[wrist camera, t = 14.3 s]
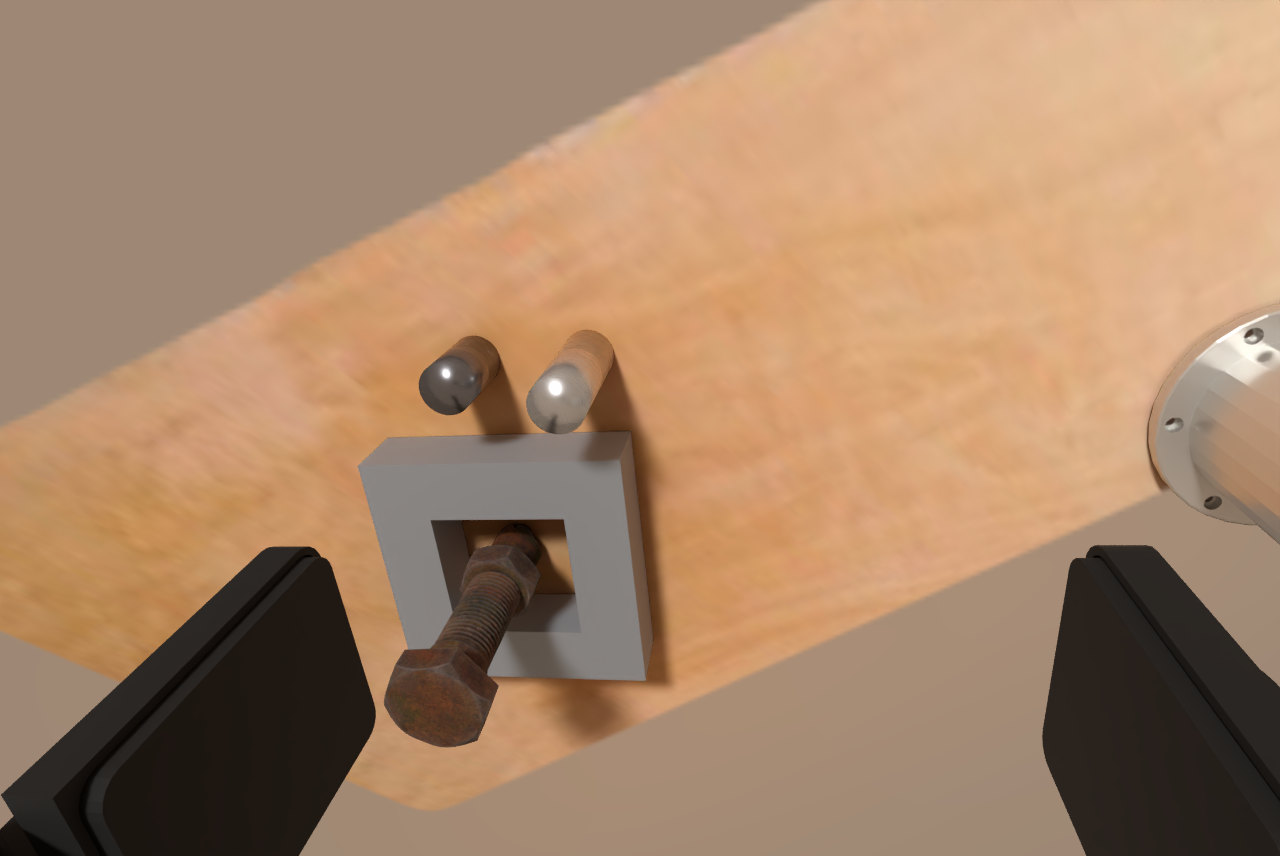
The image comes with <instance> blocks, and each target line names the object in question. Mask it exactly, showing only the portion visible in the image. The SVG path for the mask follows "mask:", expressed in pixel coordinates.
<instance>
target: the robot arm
mask: <svg viewBox="0 0 1280 856" xmlns="http://www.w3.org/2000/svg"><path fill="white" fill-rule="evenodd" d="M1246 332H1247V333H1246ZM1245 333H1246V334H1245ZM1148 444H1149V448H1150V453H1151V457H1152V462H1153V464H1154V466H1155V468H1156V469H1157V471H1158V473H1159V475H1160V477H1161V479H1162V480H1163V481H1164V482H1165V483H1166V484H1167V485H1168V487H1169V488H1170V489H1171V490H1172V491H1173V492H1174V493H1175V494H1176V495H1177V496H1178V497H1180V498H1181V499H1182V500H1183V501H1184V502H1185V503H1186V504H1188V505H1189V506H1191V507H1192V508H1194V509H1196V510H1197V511H1199V512H1201V513H1203V514H1205V515H1207V516H1211V517H1213V518H1216V519H1220V520H1223V521H1226V522H1231V523H1239V524H1245V525H1258V526H1259V527H1260V528H1262V529H1263V530H1264V531H1265V532H1266V533H1267V534H1268V535H1269V536H1271V537H1272V538H1273V539H1274V540H1275V541H1276V542H1277V543H1279V544H1280V304H1275V305H1271V306H1268V307H1265V308H1262V309H1260V310H1257V311H1254V312H1251V313H1249V314H1246V315H1243V316H1242V317H1240V318H1238V319H1236V320H1234V321H1232V322H1230V323H1228V324H1227V325H1225V326H1223V327H1221V328H1219V329H1218V330H1216V331H1215V332H1214V333H1212V334H1211V335H1209V336H1208V337H1207V338H1205V339H1204V340H1203V341H1201V342H1200V343H1199V344H1197V345H1196V346H1195V347H1194V348H1193V349H1192V350H1191V351H1190V352H1189V353H1188V354H1187V355H1186V356H1185V357H1184V358H1183V359H1182V360H1181V361H1180V362H1179V363H1178V364H1177V366H1176V367H1175V368H1174V370H1173V371H1172V373H1171V374H1170V375H1169V377H1168V378H1167V379H1166V381H1165V382H1164V384H1163V386H1162V388H1161V390H1160V392H1159V394H1158V396H1157V398H1156V400H1155V402H1154V405H1153V409H1152V413H1151V417H1150V421H1149V439H1148ZM375 718H376V710H375V705H374V702H373V698H372V695H371V692H370V689H369V685H368V682H367V679H366V676H365V673H364V669H363V666H362V663H361V660H360V657H359V653H358V650H357V647H356V644H355V640H354V637H353V634H352V631H351V628H350V624H349V621H348V618H347V615H346V611H345V608H344V605H343V602H342V599H341V595H340V592H339V589H338V586H337V583H336V579H335V576H334V573H333V570H332V567H331V565H330V562H329V561H328V560H327V559H326V558H323V557H321V556H320V554H319V553H318V552H317V551H316V550H315V549H314V548H311V547H269V548H266V549H265V550H263V551H262V552H261V553H259V554H258V555H257V556H256V557H255V558H254V559H253V560H252V561H251V562H250V563H249V564H248V565H247V566H246V567H244V568H243V569H242V570H241V571H240V572H239V573H238V574H237V575H236V576H235V577H234V578H233V579H232V580H231V581H229V582H228V583H227V584H226V585H225V586H224V587H223V588H222V589H221V590H220V591H219V592H218V593H217V594H216V595H214V596H213V597H212V598H211V599H210V600H209V601H208V602H207V603H206V604H205V605H204V606H203V607H202V608H201V609H200V610H198V611H197V612H196V613H195V614H194V615H193V616H192V617H191V618H190V619H189V620H188V621H187V622H186V623H185V624H183V625H182V626H181V627H180V628H179V629H178V630H177V631H176V632H175V633H174V634H173V635H172V636H171V637H170V638H168V639H167V640H166V641H165V642H164V643H163V644H162V645H161V646H160V647H159V648H158V649H157V650H156V651H155V652H153V653H152V654H151V655H150V656H149V657H148V658H147V659H146V660H145V661H144V662H143V663H142V664H141V665H140V666H138V667H137V668H136V669H135V670H134V671H133V672H132V673H131V674H130V675H129V676H128V677H127V678H126V679H125V680H124V681H122V682H121V683H120V684H119V685H118V686H117V687H116V688H115V689H114V690H113V691H112V692H111V693H110V694H109V695H108V696H107V697H105V698H104V699H103V700H102V701H101V702H100V703H99V704H98V705H97V706H96V707H95V708H94V709H92V710H91V711H90V712H89V713H88V714H87V715H86V716H85V717H84V718H83V719H82V720H81V721H80V722H79V723H77V724H76V725H75V726H74V727H73V728H72V729H71V730H70V731H69V732H68V733H67V734H66V735H65V736H64V737H62V738H61V739H60V740H59V741H58V742H57V743H56V744H55V745H54V746H53V747H52V748H51V749H50V750H49V751H48V752H46V753H45V754H44V755H43V756H42V757H41V758H40V759H39V760H38V761H37V762H36V763H35V764H34V765H33V766H32V767H30V768H29V769H28V770H27V771H26V772H25V773H24V774H23V775H22V776H21V777H20V778H19V779H18V780H17V781H15V782H14V783H13V784H12V785H11V786H10V787H9V788H8V789H7V790H6V791H5V792H4V793H3V794H1V796H2V797H3V799H4V801H5V802H6V804H7V806H8V807H9V809H10V810H11V812H12V814H13V815H14V816H13V818H11V819H10V820H9V821H8V822H7V823H6V824H5V825H4V826H3V827H2V828H1V829H0V856H299V854H300V853H301V851H302V849H303V847H304V846H305V844H306V843H307V841H308V839H309V838H310V836H311V834H312V832H313V831H314V829H315V828H316V826H317V824H318V822H319V821H320V819H321V817H322V816H323V814H324V812H325V811H326V809H327V807H328V806H329V804H330V802H331V800H332V799H333V797H334V796H335V794H336V792H337V791H338V789H339V787H340V786H341V784H342V782H343V781H344V779H345V777H346V776H347V774H348V772H349V771H350V769H351V767H352V766H353V764H354V762H355V761H356V759H357V757H358V756H359V754H360V752H361V751H362V749H363V747H364V746H365V744H366V742H367V741H368V739H369V737H370V735H371V733H372V731H373V728H374V724H375ZM1042 738H1043V748H1044V754H1045V758H1046V762H1047V764H1048V767H1049V769H1050V772H1051V774H1052V777H1053V779H1054V781H1055V784H1056V786H1057V788H1058V791H1059V793H1060V795H1061V798H1062V800H1063V802H1064V804H1065V807H1066V809H1067V812H1068V814H1069V816H1070V819H1071V821H1072V823H1073V826H1074V828H1075V830H1076V833H1077V835H1078V837H1079V839H1080V842H1081V844H1082V847H1083V849H1084V851H1085V854H1086V856H1280V687H1279V686H1278V685H1277V684H1276V683H1275V682H1274V681H1273V680H1272V679H1271V678H1270V677H1268V676H1267V675H1266V674H1265V673H1264V672H1263V671H1261V670H1260V669H1259V668H1258V667H1257V666H1256V664H1255V663H1254V662H1253V661H1252V660H1251V659H1250V657H1249V656H1248V655H1247V654H1246V653H1245V652H1244V651H1243V649H1242V648H1241V647H1240V646H1239V645H1238V644H1237V642H1236V641H1235V640H1234V639H1233V638H1232V637H1231V635H1230V634H1229V633H1228V632H1227V631H1226V630H1225V629H1224V627H1223V626H1222V625H1221V624H1220V623H1219V622H1218V620H1217V619H1216V618H1215V617H1214V616H1213V615H1212V613H1211V612H1210V611H1209V610H1208V609H1207V608H1206V607H1205V606H1204V604H1203V603H1202V602H1201V601H1200V600H1199V598H1198V597H1197V596H1196V595H1195V594H1194V593H1193V592H1192V590H1191V589H1190V588H1189V587H1188V586H1187V585H1186V583H1185V582H1184V581H1183V580H1182V579H1181V578H1180V577H1179V576H1178V574H1177V573H1176V572H1175V571H1174V570H1173V568H1172V567H1171V566H1170V565H1169V564H1168V563H1167V562H1166V560H1165V559H1164V558H1163V557H1162V556H1161V555H1160V553H1159V552H1158V551H1157V550H1155V549H1154V548H1153V547H1151V546H1147V545H1125V546H1124V545H1107V546H1106V545H1097V546H1093V547H1091V548H1090V549H1089V551H1088V552H1087V555H1086V558H1076V559H1074V560H1073V561H1072V563H1071V565H1070V568H1069V573H1068V579H1067V585H1066V592H1065V598H1064V604H1063V610H1062V616H1061V622H1060V628H1059V635H1058V641H1057V647H1056V653H1055V659H1054V665H1053V671H1052V677H1051V683H1050V689H1049V695H1048V702H1047V708H1046V714H1045V720H1044V726H1043V735H1042Z"/></svg>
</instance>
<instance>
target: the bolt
mask: <svg viewBox="0 0 1280 856" xmlns="http://www.w3.org/2000/svg"><path fill="white" fill-rule="evenodd" d="M540 555H541V550H540V547H539V545H538V542H537V541H536V540H535V539H534V537H533V535H532V533H531V532H530V530H529V529H528V528H527V527H525V526H523V525H517V527H516V530H515V528H514V527H513V525H510V526H507V527H505V528H503V529H502V530H501V531H500V532H499V534H498V535H497V537H496V539H495V541H494V542H493V544H492V546H486V547H482V548H479V549H476V550H475V551H474V553H473V554H472V556H471V558H470V559H469V562H468V564H467V567H466V569H465V572H464V575H463V578H462V582H461V586H460V591H461V593H462V594H463V596H462V598H461V599H460V601H459V603H458V604H457V607H456V608H455V609H454V611H453V613H452V614H451V616H450V618H449V620H448V621H447V623H446V625H445V626H444V628H443V630H442V632H441V633H440V635H439V637H438V639H437V640H436V642H435V644H434V645H433V646H432V647H431V648H430V649H410V650H404V652H403V654H402V655H401V657H400V658H399V660H398V662H397V663H396V665H395V667H394V670H393V672H392V675H391V677H390V681H389V684H388V687H387V690H386V694H385V698H384V706H385V708H386V709H387V711H388V713H389V715H390V717H391V718H392V719H393V721H394V722H395V724H396V725H397V726H398V727H399V728H400V729H401V730H403V731H404V732H405V733H406V734H408V735H410V736H412V737H414V738H416V739H418V740H421V741H424V742H426V743H429V744H432V745H434V746H438V747H456V746H461V745H465V744H468V743H472V742H475V741H477V740H478V738H479V735H480V733H481V731H482V729H483V726H484V724H485V721H486V719H487V716H488V713H489V711H490V708H491V705H492V703H493V700H494V697H495V694H496V692H497V689H498V685H497V684H496V683H495V682H494V681H493V680H492V679H491V678H490V677H489V676H488V675H487V673H488V669H489V667H490V664H491V662H492V660H493V658H494V656H495V654H496V651H497V650H498V648H499V646H500V643H501V641H502V639H503V637H504V634H505V632H506V630H507V628H508V626H509V623H510V622H511V619H512V618H516V617H520V616H523V615H525V613H526V611H527V609H528V607H529V604H530V602H531V599H532V597H533V594H534V592H535V589H536V586H537V584H538V581H539V578H540V573H539V571H538V570H537V568H536V565H537V563H538V561H539V559H540Z"/></svg>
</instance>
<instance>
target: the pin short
mask: <svg viewBox="0 0 1280 856" xmlns="http://www.w3.org/2000/svg"><path fill="white" fill-rule="evenodd" d="M499 369H500V356H499V353H498V351H497V349H496V348H495V347H494V345H493V344H492V343H491V342H489V341H488V340H486V339H484V338H482V337H479V336H468V337H465V338H463V339H461V340H460V341H458V342H457V343H456V344H455V345H454V346H453V347H451V348H450V349H449V350H448V351H447V352H445V353H444V354H443V355H442V356H441V357H440V358H438V359H437V360H436V361H435V362H434V363H432V364H431V365H430V366H429V367H428V368H427V369H425V370H424V372H423V373H422V374H421V377H420V380H419V391H420V394H421V396H422V398H423V400H424V402H425V403H426V404H427V405H428V406H429V407H430V408H431V409H433V410H434V411H436V412H438V413H441V414H444V415H455V414H458V413H461V412H462V411H464V410H465V409H466V408H467V407H468V406H469V405H470V404H471V403H472V401H473V400H474V399H475V398H476V397H477V396H478V395H479V394H480V393H481V392H482V390H483V389H484V388H485V387H486V386H487V385H488V384H489V383H490V382H491V381H492V379H493V378H494V377H495V376H496V375H497V373H498V371H499Z"/></svg>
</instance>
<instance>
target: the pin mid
mask: <svg viewBox="0 0 1280 856" xmlns="http://www.w3.org/2000/svg"><path fill="white" fill-rule="evenodd" d="M613 361H614V351H613V348H612V345H611V343H610V342H609V341H608V339H607V338H606V337H605V336H603V335H602V334H600V333H598V332H596V331H592V330H582V331H579V332H576V333H575V334H573V335H572V336H571V337H570V338H569V339H568V340H567V342H566V343H565V344H564V346H563V347H562V348H561V350H560V351H559V352H558V354H557V355H556V356H555V358H554V359H553V360H552V362H551V363H550V364H549V366H548V367H547V368H546V370H545V371H544V372H543V374H542V375H541V376H540V378H539V379H538V380H537V382H536V383H535V384H534V386H533V387H532V388H531V390H530V391H529V393H528V396H527V401H526V405H527V411H528V414H529V416H530V418H531V419H532V421H533V422H534V423H535V424H536V425H537V426H538V427H539V428H540V429H542V430H544V431H546V432H548V433H552V434H567V433H570V432H572V431H574V430H575V429H577V428H578V427H579V426H580V425H581V423H582V422H583V420H584V418H585V416H586V414H587V412H588V411H589V409H590V407H591V405H592V403H593V401H594V399H595V397H596V395H597V393H598V391H599V390H600V388H601V386H602V384H603V382H604V380H605V378H606V376H607V374H608V372H609V370H610V369H611V367H612V364H613Z"/></svg>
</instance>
